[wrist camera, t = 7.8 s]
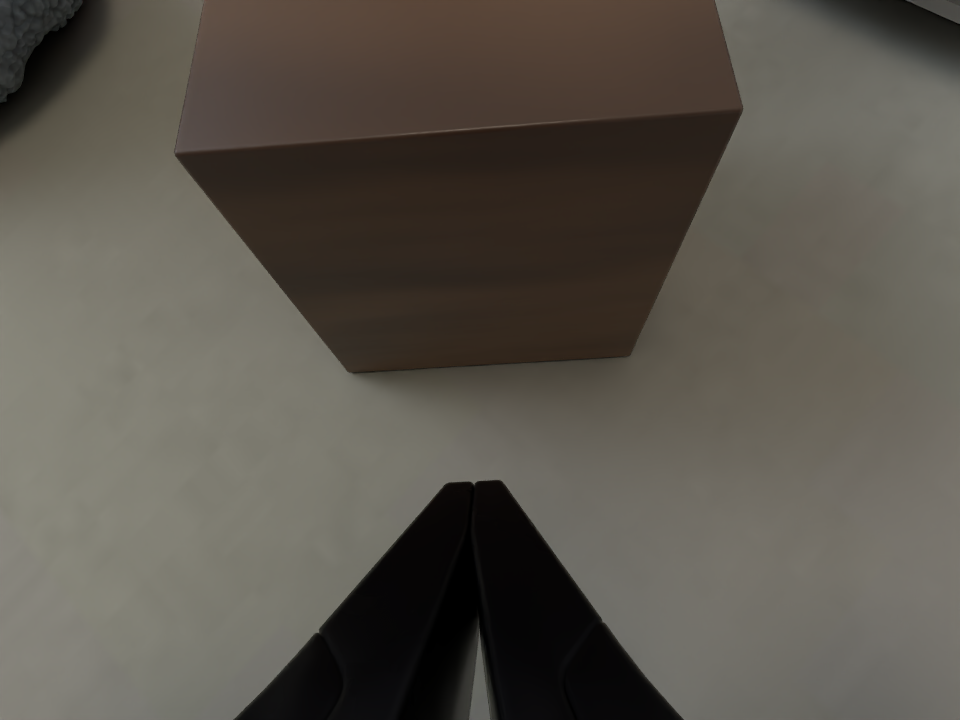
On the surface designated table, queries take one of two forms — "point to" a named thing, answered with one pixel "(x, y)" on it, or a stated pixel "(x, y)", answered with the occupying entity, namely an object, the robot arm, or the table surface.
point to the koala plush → (26, 34)
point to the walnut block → (461, 165)
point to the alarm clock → (941, 8)
